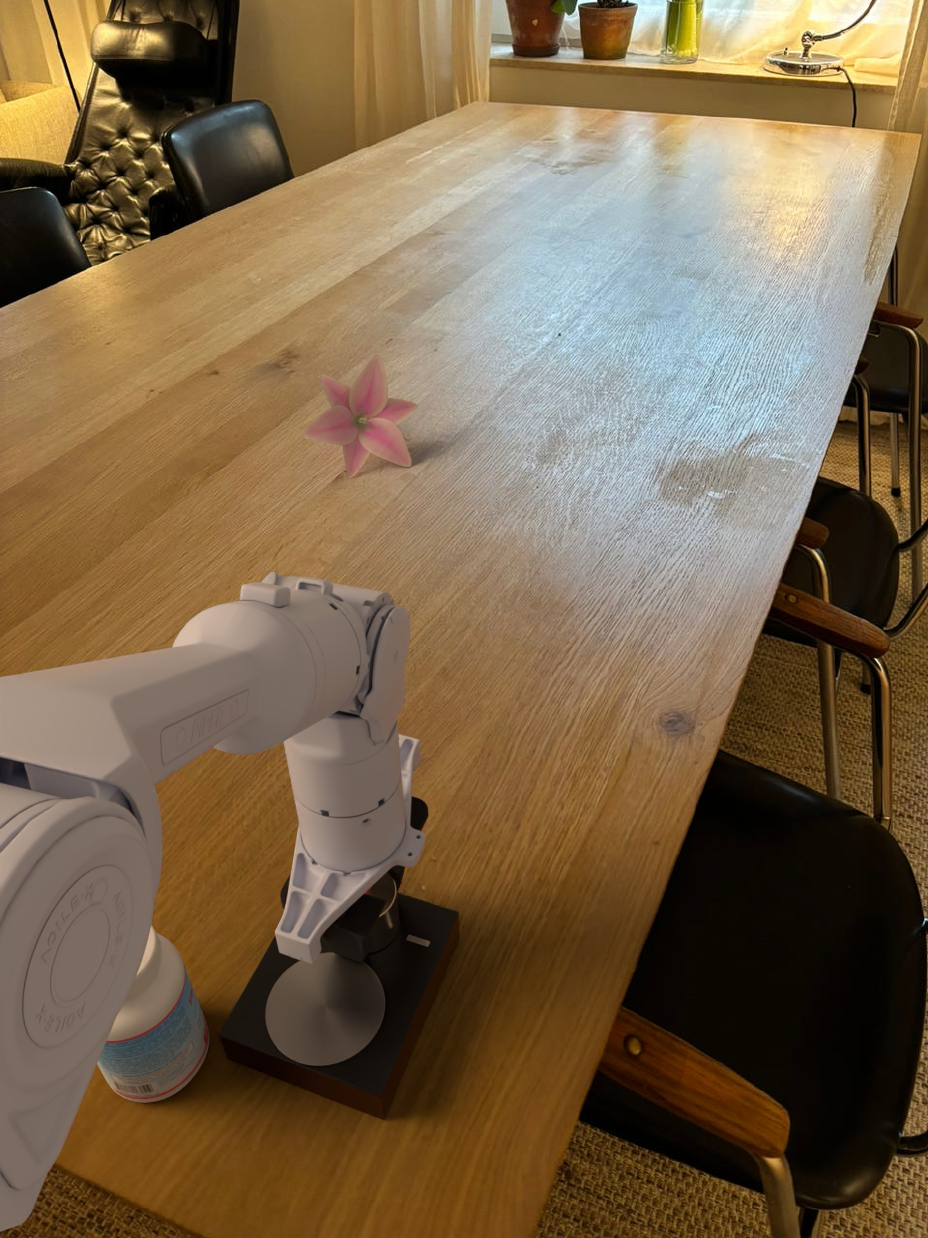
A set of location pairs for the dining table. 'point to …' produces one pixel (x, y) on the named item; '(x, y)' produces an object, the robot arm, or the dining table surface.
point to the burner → (325, 1010)
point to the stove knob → (385, 913)
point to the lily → (362, 418)
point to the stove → (409, 994)
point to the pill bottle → (156, 1029)
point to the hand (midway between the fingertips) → (366, 921)
